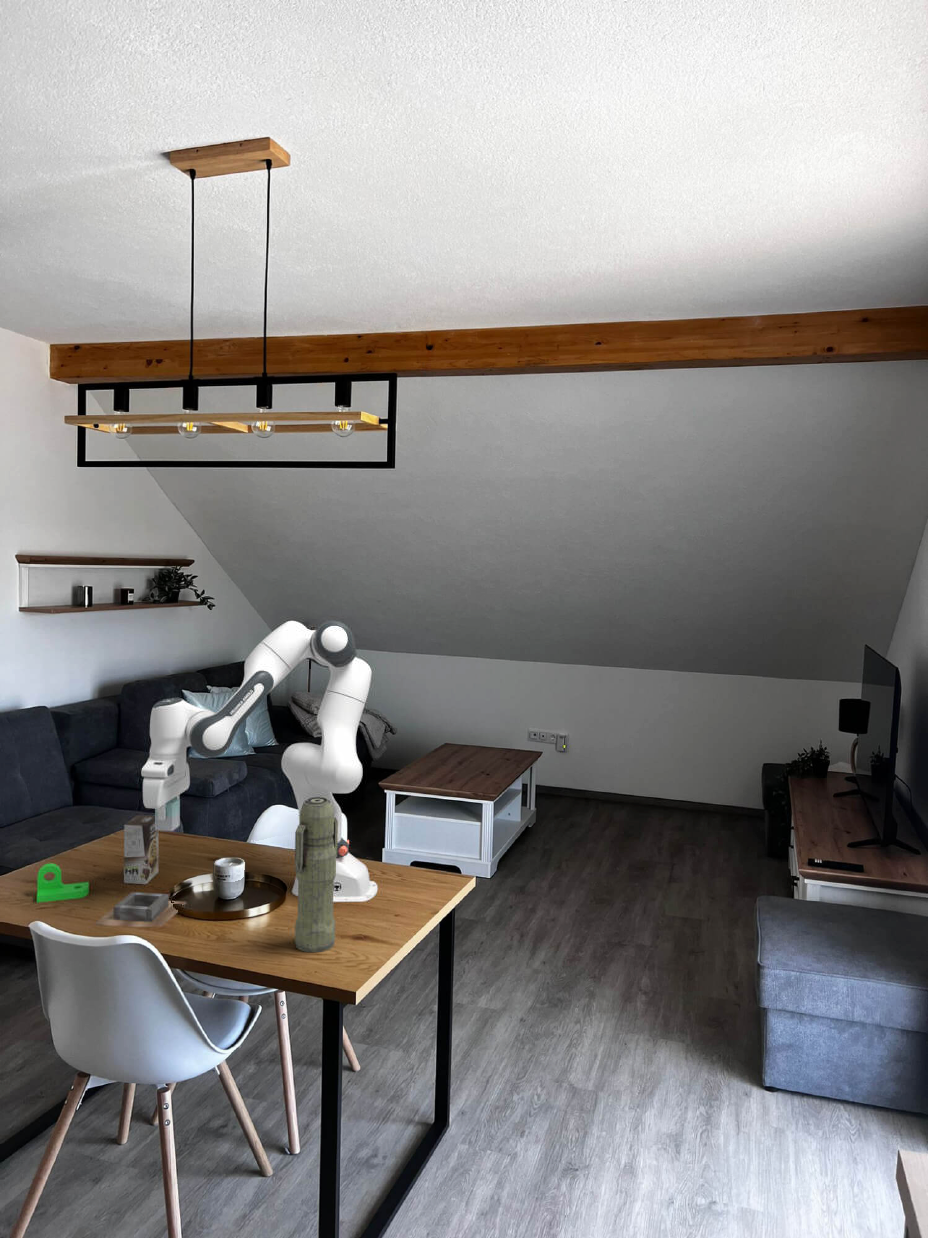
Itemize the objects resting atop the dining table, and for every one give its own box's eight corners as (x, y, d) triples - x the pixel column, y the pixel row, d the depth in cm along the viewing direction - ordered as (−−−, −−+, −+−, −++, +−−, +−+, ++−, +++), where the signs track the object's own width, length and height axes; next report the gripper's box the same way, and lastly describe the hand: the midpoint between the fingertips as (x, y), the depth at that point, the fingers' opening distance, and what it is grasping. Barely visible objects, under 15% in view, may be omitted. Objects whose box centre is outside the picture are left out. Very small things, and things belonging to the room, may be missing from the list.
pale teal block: (179, 825, 234) (179, 799, 233) (172, 831, 229) (172, 804, 229) (162, 824, 234) (162, 798, 234) (155, 830, 230) (155, 802, 229)
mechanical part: (36, 904, 227) (36, 872, 227) (37, 895, 233) (37, 864, 232) (88, 898, 232) (88, 867, 231) (88, 889, 238) (88, 859, 237)
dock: (186, 905, 228) (186, 890, 228) (159, 933, 213) (159, 916, 212) (125, 901, 230) (125, 886, 230) (93, 928, 214) (93, 912, 214)
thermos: (346, 946, 208) (349, 797, 205) (314, 967, 198) (317, 809, 195) (315, 937, 213) (318, 790, 210) (282, 957, 202) (284, 803, 199)
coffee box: (147, 884, 241) (147, 825, 240) (123, 883, 242) (123, 824, 240) (159, 872, 250) (159, 815, 249) (136, 871, 251) (136, 814, 249)
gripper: (173, 752, 241) (172, 803, 242) (137, 771, 221) (137, 827, 222) (196, 754, 240) (195, 805, 242) (162, 773, 220) (162, 828, 221)
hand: (167, 816), depth 232 cm, fingers closed on pale teal block, 4 cm apart
